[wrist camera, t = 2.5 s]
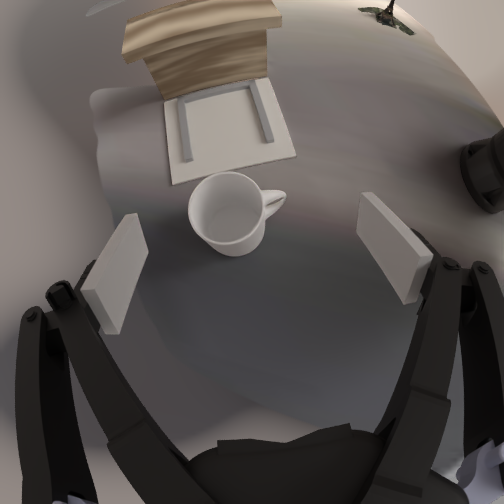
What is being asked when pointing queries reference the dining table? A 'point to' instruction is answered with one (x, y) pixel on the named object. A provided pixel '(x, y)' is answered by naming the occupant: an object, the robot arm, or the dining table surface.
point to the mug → (232, 212)
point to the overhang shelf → (202, 43)
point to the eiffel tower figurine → (387, 17)
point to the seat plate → (225, 130)
